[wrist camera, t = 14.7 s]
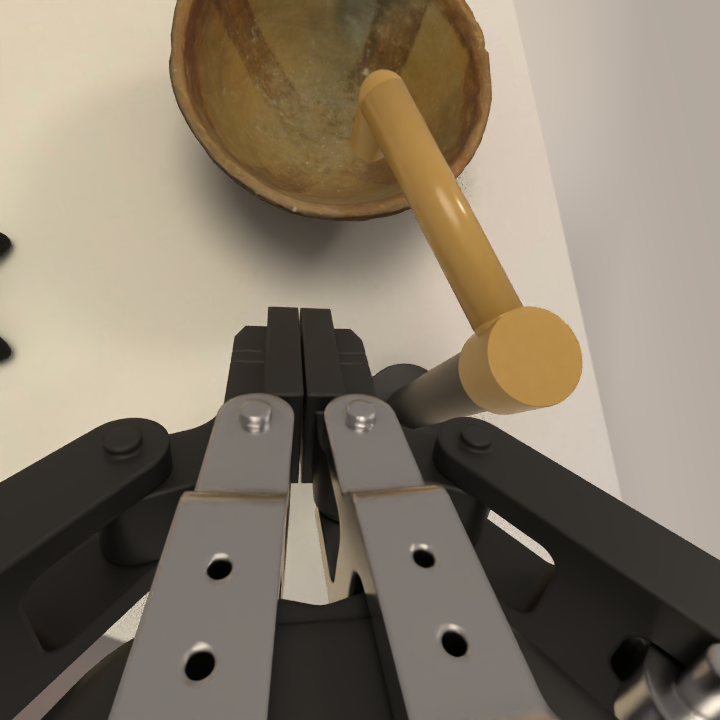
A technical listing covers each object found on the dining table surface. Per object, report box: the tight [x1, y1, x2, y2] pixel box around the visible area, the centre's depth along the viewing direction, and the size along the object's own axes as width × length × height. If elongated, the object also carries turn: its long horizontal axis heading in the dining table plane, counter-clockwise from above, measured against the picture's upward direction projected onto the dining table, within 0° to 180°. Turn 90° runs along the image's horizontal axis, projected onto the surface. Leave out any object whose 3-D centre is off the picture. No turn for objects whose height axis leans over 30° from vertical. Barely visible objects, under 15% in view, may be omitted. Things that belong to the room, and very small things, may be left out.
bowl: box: [169, 0, 492, 221], centre depth 36 cm, size 22×23×10 cm
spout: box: [350, 69, 582, 415], centre depth 21 cm, size 16×4×4 cm, turn 26°
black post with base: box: [372, 352, 486, 435], centre depth 30 cm, size 7×7×16 cm
